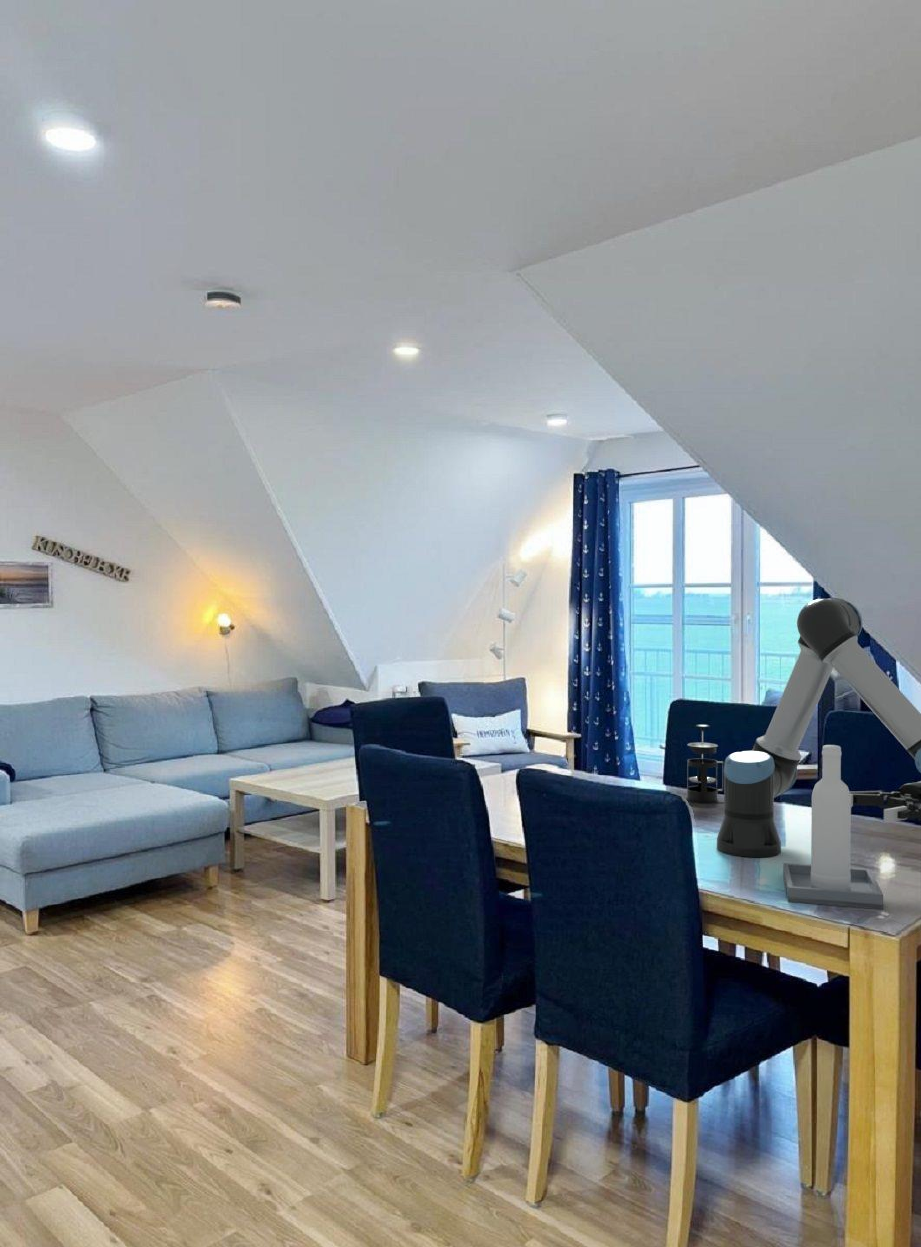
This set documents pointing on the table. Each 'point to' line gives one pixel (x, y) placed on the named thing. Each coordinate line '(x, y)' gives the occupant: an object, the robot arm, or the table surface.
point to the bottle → (831, 825)
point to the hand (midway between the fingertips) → (857, 809)
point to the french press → (703, 773)
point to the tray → (859, 895)
